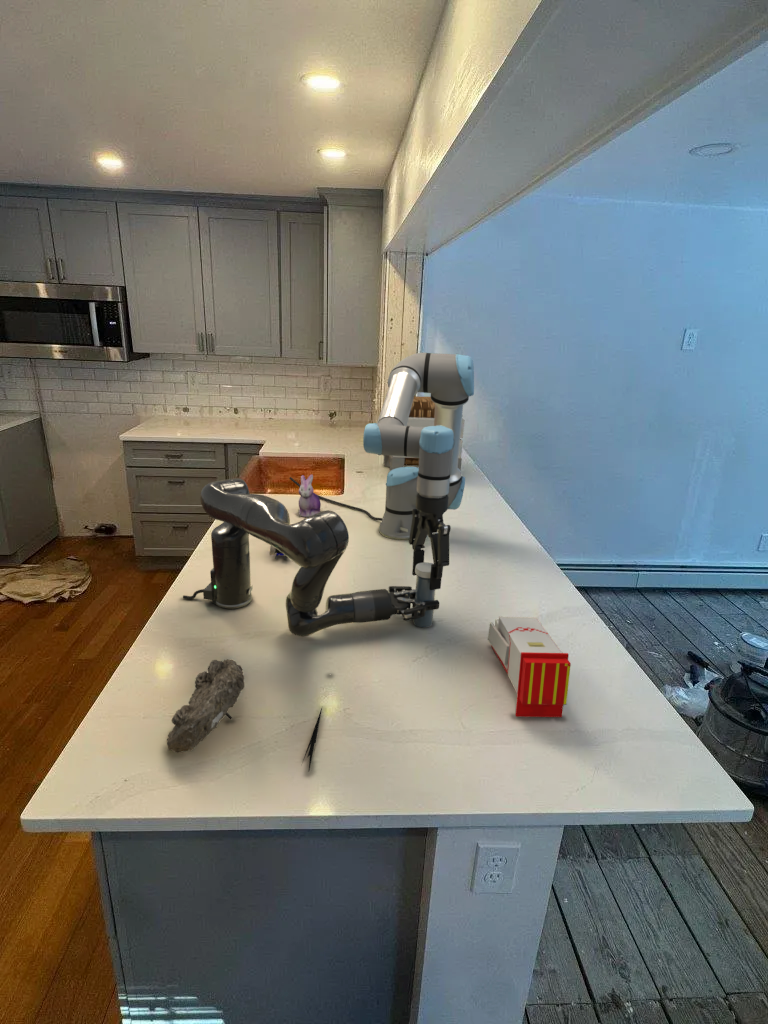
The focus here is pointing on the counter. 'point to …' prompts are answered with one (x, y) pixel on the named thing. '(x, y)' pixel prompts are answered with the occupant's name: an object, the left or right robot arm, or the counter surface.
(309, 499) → the figurine
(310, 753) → the feather
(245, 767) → the counter surface
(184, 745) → the fossil
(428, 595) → the jar
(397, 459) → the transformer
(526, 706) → the toy
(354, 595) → the left robot arm
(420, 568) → the lid
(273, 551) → the figurine character
